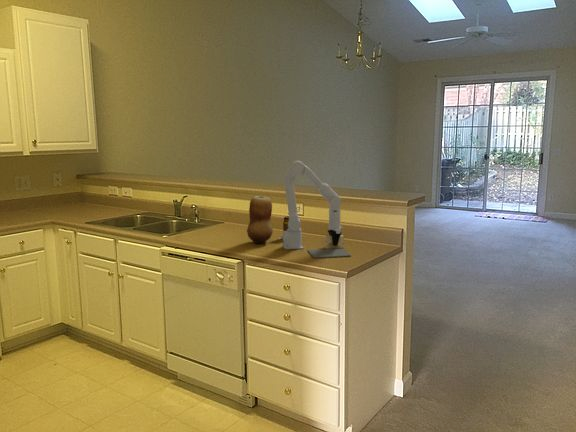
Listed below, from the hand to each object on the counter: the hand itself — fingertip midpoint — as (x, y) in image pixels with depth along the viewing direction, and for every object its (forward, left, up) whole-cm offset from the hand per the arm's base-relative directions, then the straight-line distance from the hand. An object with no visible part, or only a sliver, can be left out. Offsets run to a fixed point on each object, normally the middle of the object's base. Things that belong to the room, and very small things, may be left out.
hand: (334, 244), depth 251 cm
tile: (0, 0, -1) cm, 1 cm away
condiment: (-20, +26, -2) cm, 33 cm away
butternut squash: (-36, +18, -2) cm, 40 cm away
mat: (-6, -12, -1) cm, 13 cm away
